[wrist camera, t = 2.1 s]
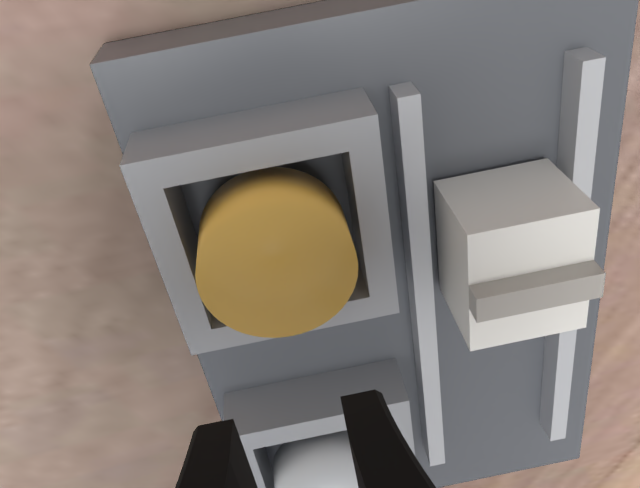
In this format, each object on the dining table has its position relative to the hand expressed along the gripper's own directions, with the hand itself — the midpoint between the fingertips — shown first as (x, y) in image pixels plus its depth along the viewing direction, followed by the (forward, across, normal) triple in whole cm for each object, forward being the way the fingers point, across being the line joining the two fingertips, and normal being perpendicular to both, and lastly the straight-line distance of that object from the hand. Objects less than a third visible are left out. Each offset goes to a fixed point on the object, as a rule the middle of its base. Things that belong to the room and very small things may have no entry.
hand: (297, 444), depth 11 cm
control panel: (+10, -4, +5) cm, 12 cm away
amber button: (+7, 0, 0) cm, 7 cm away
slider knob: (+8, -6, +2) cm, 11 cm away
